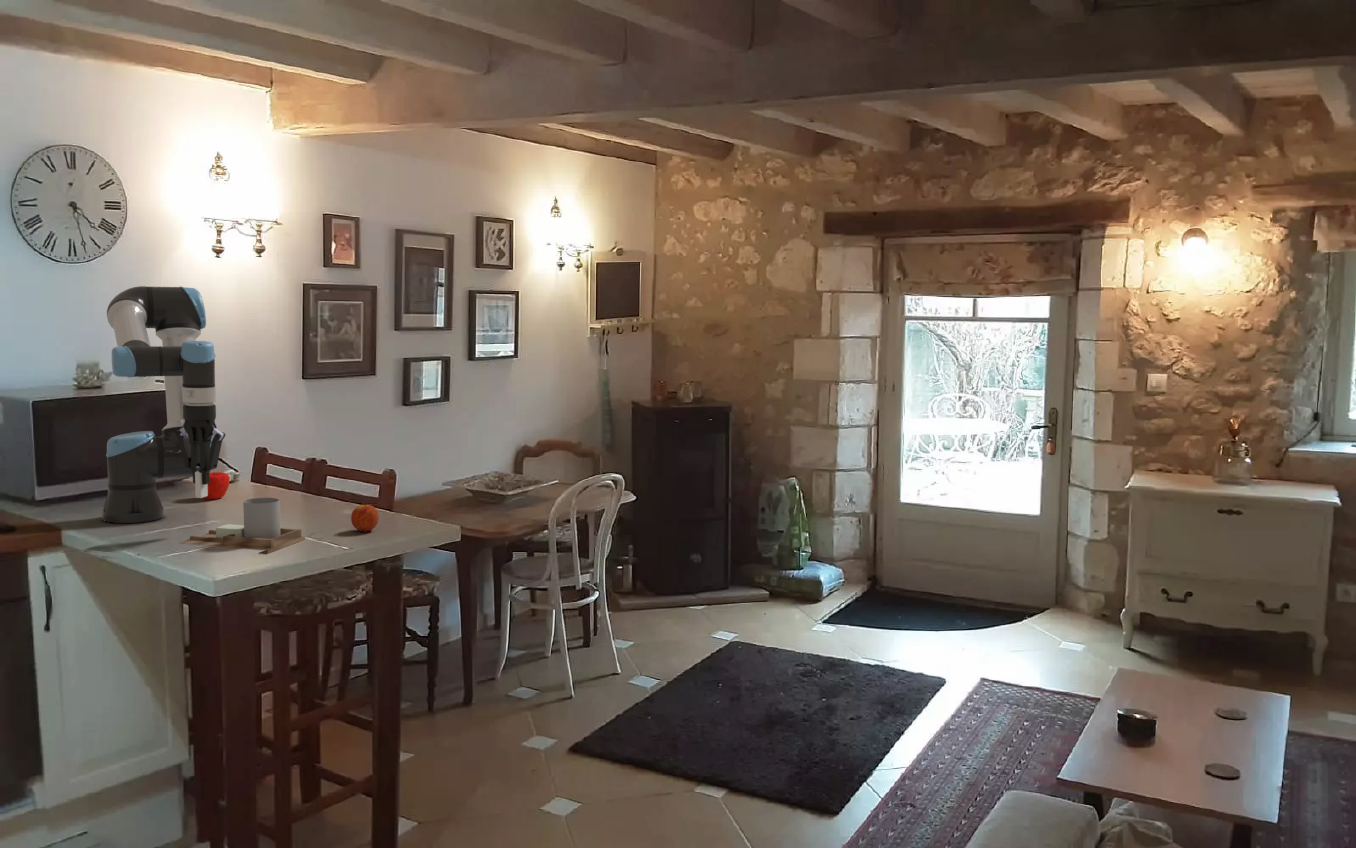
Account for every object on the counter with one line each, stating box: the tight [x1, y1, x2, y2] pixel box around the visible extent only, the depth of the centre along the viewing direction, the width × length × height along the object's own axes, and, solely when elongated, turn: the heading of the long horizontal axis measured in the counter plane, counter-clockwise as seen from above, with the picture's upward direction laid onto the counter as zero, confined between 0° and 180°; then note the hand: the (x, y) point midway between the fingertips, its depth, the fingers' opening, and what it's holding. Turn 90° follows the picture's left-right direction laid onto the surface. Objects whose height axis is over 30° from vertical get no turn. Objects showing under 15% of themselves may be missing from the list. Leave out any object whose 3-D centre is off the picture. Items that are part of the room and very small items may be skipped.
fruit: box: [350, 500, 380, 533], centre depth 285 cm, size 7×7×8 cm
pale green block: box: [215, 523, 244, 538], centre depth 269 cm, size 7×4×3 cm, turn 77°
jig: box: [180, 527, 306, 555], centre depth 268 cm, size 24×16×3 cm, turn 77°
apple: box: [203, 471, 230, 501], centre depth 326 cm, size 9×9×8 cm
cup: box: [242, 497, 281, 539], centre depth 267 cm, size 8×8×10 cm
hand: (201, 496), depth 273 cm, fingers closed
